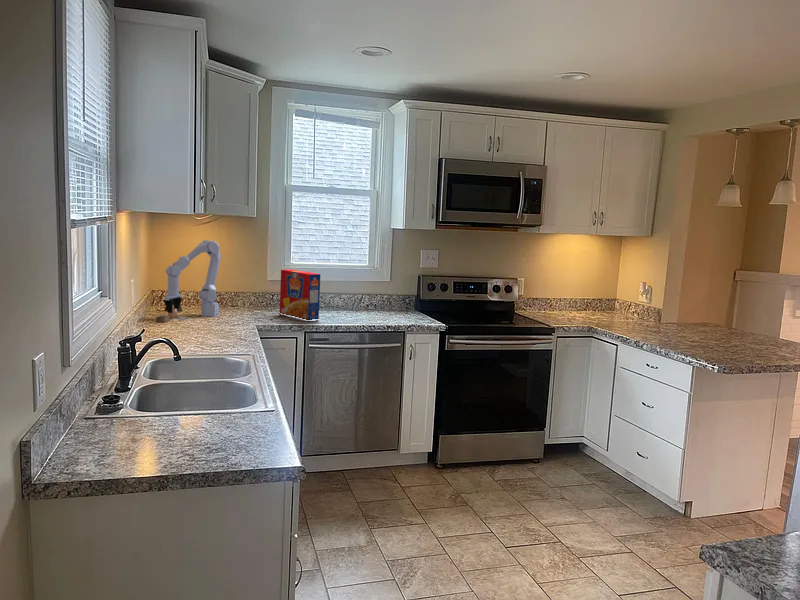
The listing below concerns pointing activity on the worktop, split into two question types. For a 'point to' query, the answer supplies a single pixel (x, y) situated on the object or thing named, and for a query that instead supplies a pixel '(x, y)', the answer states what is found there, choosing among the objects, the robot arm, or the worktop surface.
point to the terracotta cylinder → (173, 313)
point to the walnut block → (162, 318)
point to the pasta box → (300, 294)
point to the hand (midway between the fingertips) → (173, 311)
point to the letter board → (180, 318)
